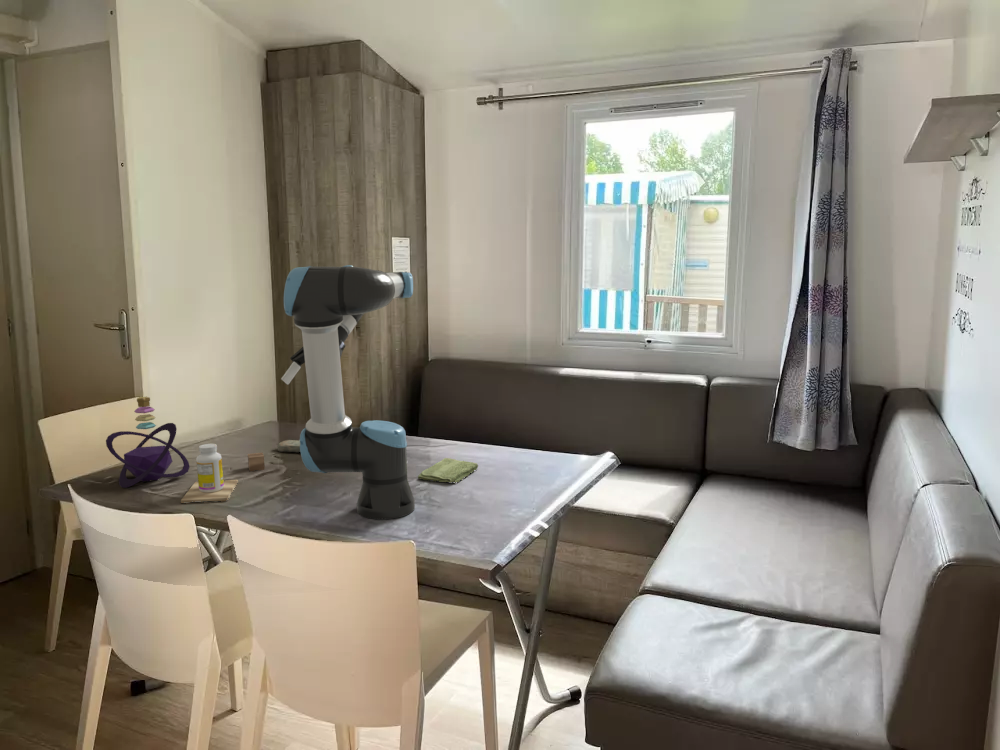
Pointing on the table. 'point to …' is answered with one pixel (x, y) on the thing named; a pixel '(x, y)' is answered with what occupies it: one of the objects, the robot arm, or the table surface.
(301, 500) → the table surface
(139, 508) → the table surface
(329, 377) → the robot arm
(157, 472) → the decorative bottle
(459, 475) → the washcloth
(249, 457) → the walnut block
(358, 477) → the table surface
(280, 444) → the long grey stone
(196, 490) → the pad
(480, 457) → the table surface
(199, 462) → the supplement bottle
